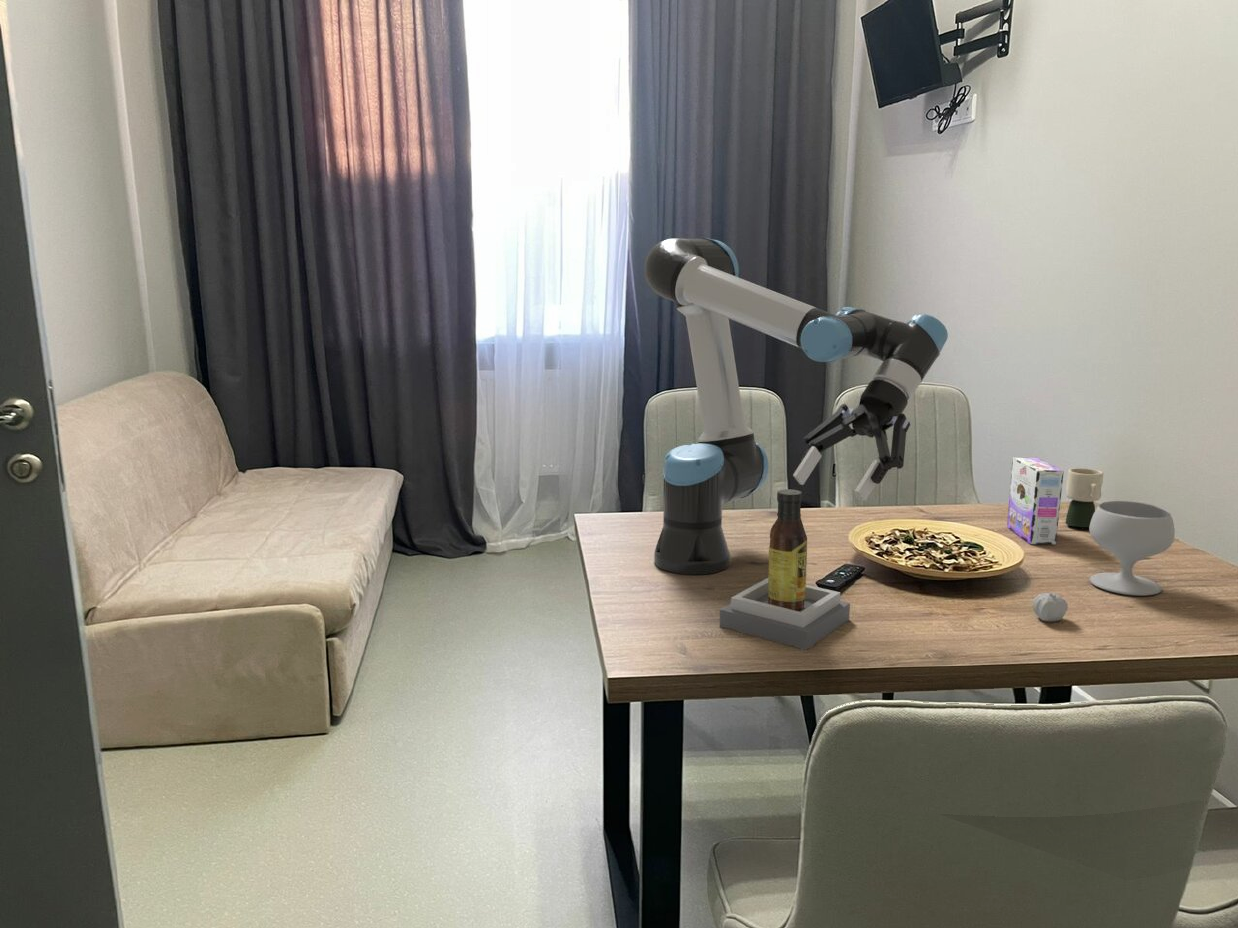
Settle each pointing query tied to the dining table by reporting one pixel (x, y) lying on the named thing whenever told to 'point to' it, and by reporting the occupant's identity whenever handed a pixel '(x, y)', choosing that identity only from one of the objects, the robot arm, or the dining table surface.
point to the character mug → (1082, 495)
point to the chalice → (1130, 542)
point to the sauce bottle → (787, 553)
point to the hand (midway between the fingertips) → (827, 488)
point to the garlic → (1049, 606)
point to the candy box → (1035, 500)
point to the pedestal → (785, 616)
